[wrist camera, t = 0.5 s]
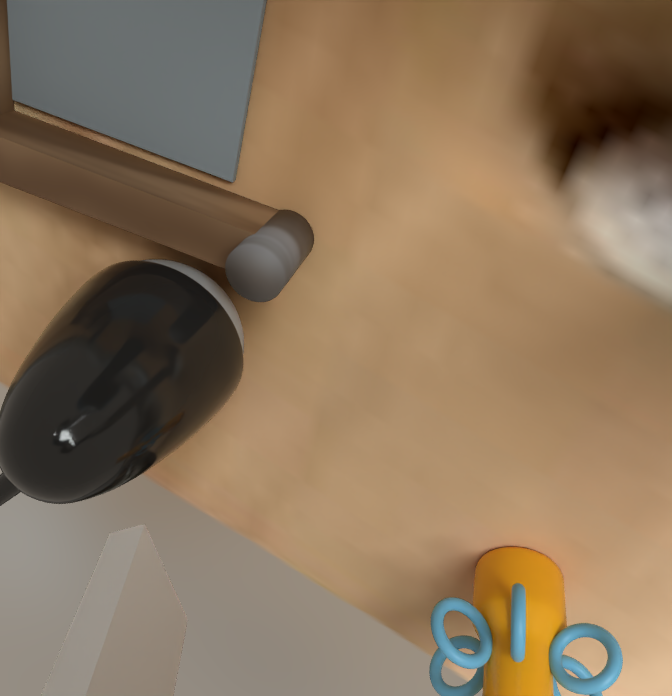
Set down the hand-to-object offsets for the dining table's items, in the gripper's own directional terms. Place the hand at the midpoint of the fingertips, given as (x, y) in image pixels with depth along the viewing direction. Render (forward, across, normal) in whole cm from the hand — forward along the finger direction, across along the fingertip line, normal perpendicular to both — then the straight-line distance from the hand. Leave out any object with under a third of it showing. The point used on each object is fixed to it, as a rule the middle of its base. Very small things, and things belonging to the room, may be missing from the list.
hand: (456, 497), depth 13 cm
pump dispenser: (+26, -10, -1) cm, 28 cm away
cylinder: (+22, +7, -25) cm, 34 cm away
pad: (+22, -7, +15) cm, 28 cm away
